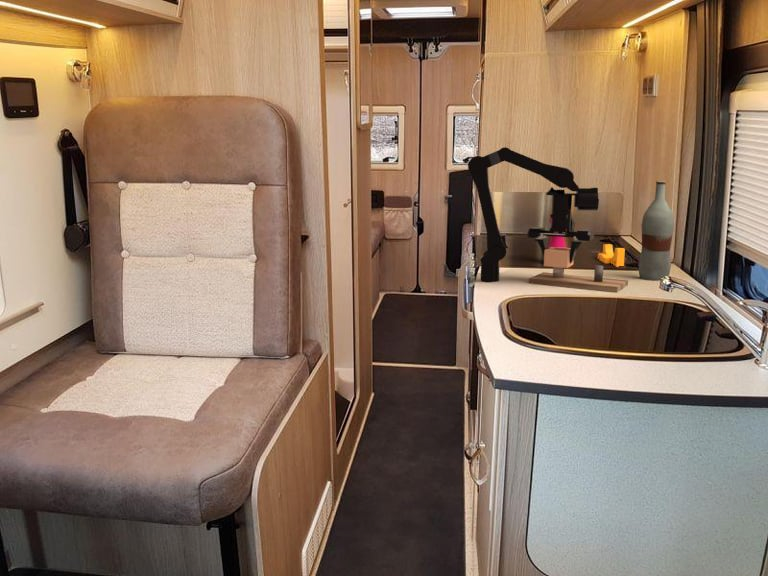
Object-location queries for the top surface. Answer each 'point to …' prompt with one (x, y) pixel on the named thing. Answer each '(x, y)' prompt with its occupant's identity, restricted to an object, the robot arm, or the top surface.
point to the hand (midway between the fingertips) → (558, 262)
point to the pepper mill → (557, 241)
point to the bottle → (656, 237)
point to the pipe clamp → (612, 255)
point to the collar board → (579, 280)
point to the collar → (557, 257)
